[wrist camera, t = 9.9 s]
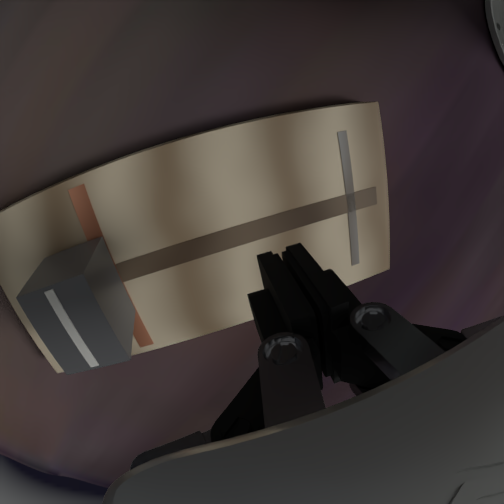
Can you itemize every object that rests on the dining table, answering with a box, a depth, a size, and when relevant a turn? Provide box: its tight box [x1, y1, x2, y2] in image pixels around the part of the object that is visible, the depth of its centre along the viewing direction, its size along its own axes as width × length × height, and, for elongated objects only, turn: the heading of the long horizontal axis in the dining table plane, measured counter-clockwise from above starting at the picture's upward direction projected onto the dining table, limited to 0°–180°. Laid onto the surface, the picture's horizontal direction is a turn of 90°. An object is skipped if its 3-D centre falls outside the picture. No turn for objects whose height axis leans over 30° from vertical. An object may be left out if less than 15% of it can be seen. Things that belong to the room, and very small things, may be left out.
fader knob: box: [16, 236, 136, 375], centre depth 14 cm, size 4×5×4 cm
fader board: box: [0, 102, 390, 373], centre depth 18 cm, size 26×12×2 cm, turn 102°
